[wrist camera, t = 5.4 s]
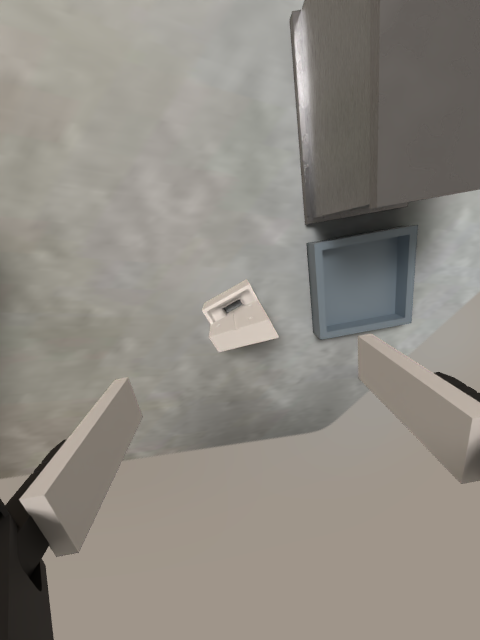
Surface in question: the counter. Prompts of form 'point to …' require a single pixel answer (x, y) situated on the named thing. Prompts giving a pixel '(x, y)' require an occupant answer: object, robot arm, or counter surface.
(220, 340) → the white wedge bracket
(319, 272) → the tray
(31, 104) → the counter surface
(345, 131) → the box
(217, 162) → the counter surface
